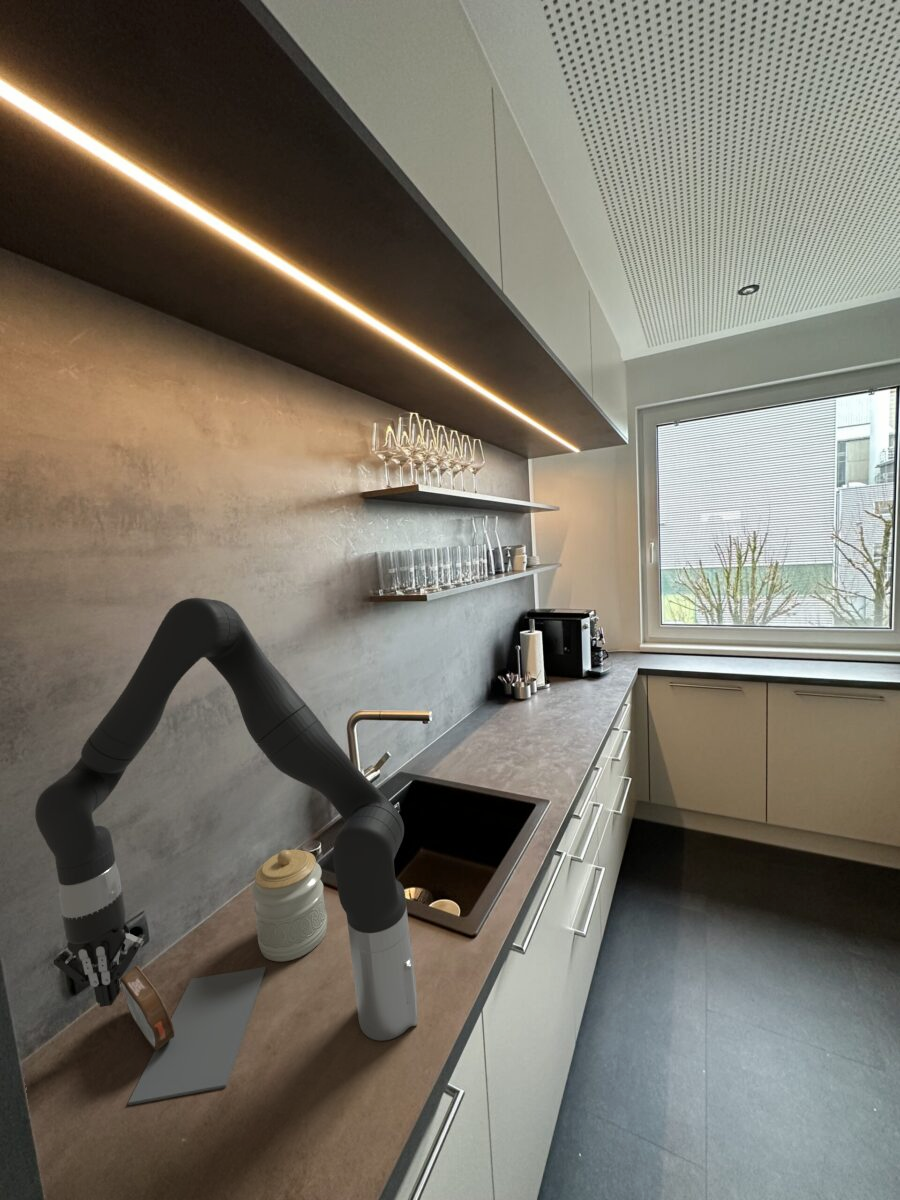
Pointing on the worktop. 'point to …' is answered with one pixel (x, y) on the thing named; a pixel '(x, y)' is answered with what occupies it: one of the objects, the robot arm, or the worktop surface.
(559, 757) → the worktop surface
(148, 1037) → the tin
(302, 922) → the jar
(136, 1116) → the worktop surface
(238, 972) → the mat
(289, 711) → the robot arm
